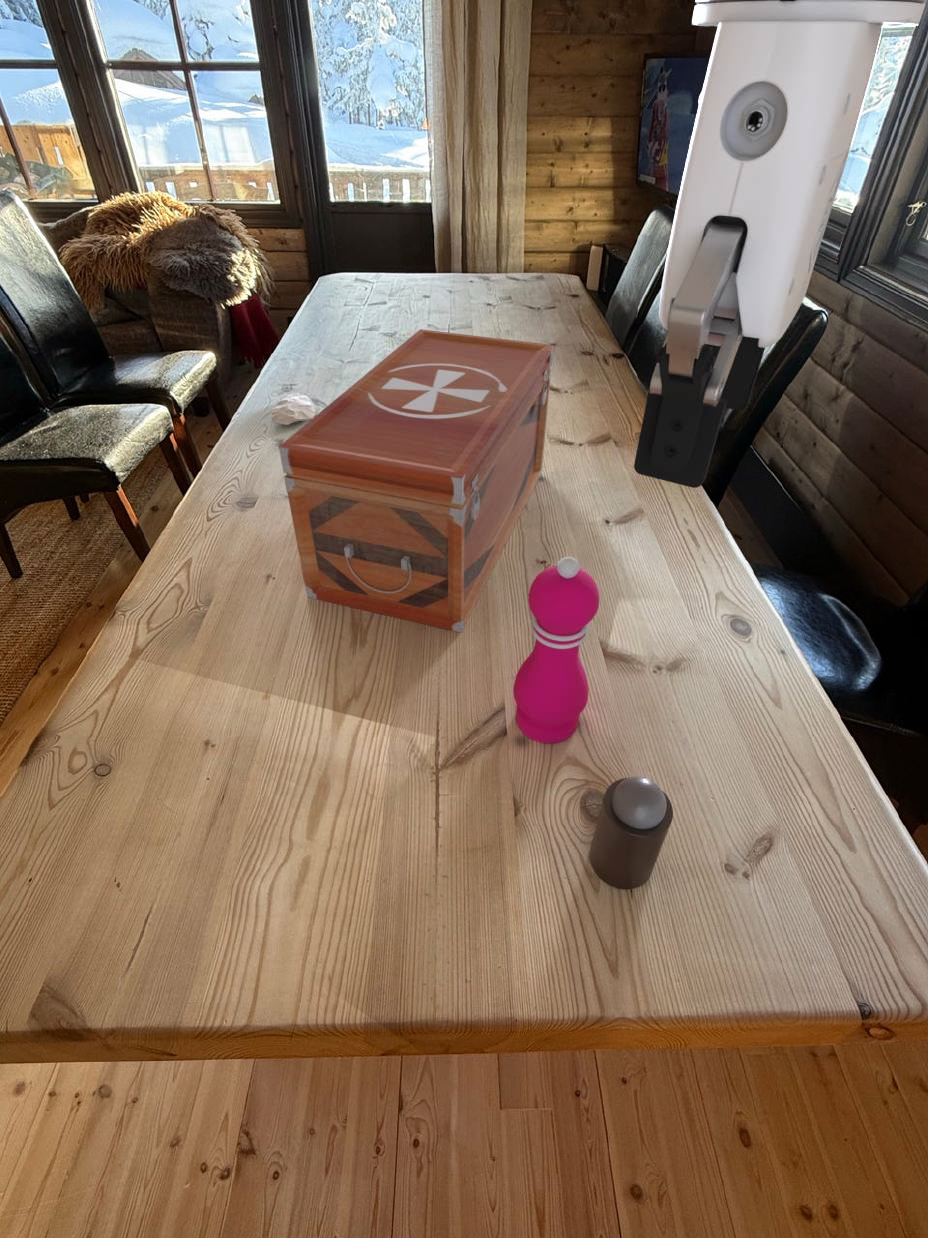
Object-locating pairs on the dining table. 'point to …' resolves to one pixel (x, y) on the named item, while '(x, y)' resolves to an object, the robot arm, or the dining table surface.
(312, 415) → the stone
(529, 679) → the pepper mill
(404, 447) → the wooden box
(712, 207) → the robot arm
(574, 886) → the dining table surface
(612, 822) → the salt shaker
